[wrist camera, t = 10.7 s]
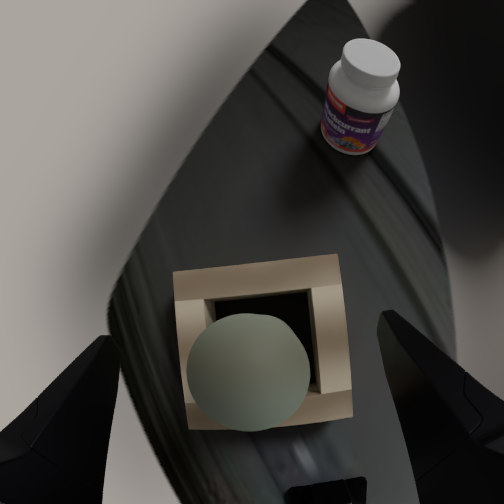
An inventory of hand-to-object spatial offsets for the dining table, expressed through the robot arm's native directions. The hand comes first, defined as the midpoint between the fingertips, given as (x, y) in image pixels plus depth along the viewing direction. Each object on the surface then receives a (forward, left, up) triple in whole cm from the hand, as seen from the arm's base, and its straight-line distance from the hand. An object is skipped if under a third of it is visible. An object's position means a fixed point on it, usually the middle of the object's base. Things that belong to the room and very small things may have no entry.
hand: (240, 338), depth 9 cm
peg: (-1, 0, -14) cm, 14 cm away
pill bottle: (+16, -9, -14) cm, 23 cm away
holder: (-1, 0, -14) cm, 14 cm away
